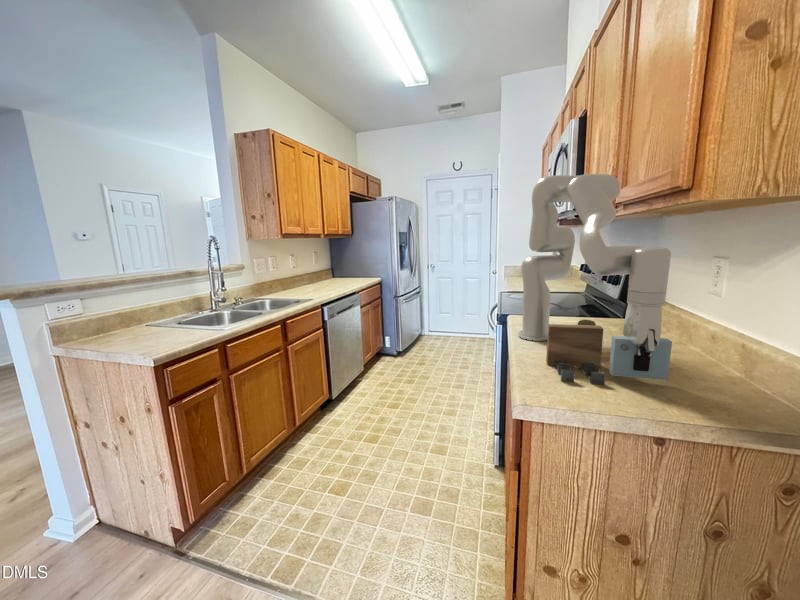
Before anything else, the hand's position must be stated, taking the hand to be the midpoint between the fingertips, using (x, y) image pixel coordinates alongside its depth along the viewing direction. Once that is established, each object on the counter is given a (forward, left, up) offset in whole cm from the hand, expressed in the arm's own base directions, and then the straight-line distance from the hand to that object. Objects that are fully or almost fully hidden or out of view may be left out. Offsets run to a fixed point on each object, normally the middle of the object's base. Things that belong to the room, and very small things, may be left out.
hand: (638, 367), depth 83 cm
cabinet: (-10, -13, -4) cm, 17 cm away
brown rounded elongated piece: (-23, -7, -4) cm, 24 cm away
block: (0, 0, -2) cm, 2 cm away
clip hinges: (-2, -13, -4) cm, 14 cm away
